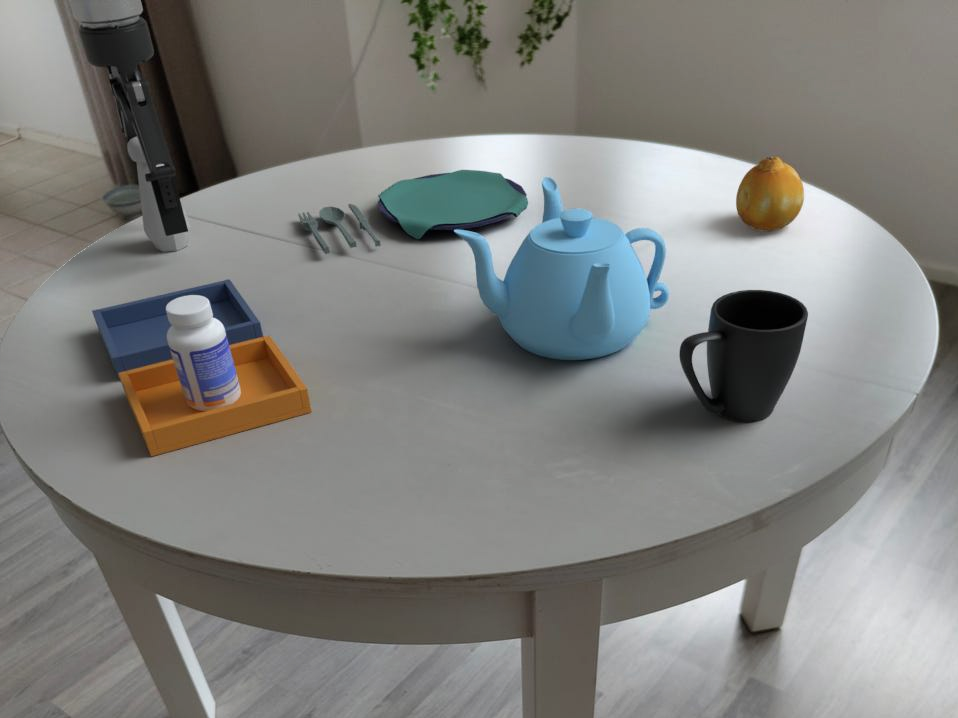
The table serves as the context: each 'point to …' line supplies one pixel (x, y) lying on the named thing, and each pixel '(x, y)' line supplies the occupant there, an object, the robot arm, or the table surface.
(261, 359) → the tray amber
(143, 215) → the salt shaker
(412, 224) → the cutlery set
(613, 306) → the teapot
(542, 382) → the table surface
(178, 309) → the pill bottle
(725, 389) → the mug
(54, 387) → the table surface
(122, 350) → the tray slate
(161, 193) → the robot arm
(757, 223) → the fruit
